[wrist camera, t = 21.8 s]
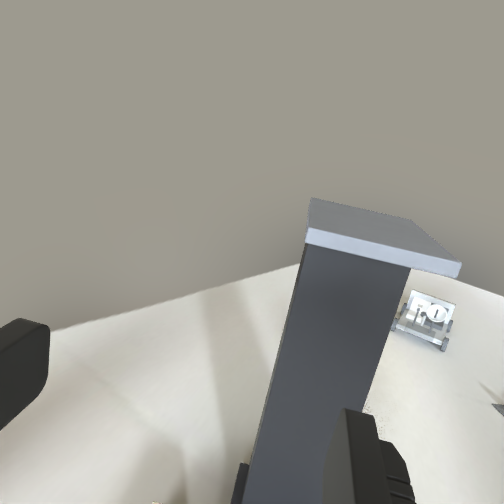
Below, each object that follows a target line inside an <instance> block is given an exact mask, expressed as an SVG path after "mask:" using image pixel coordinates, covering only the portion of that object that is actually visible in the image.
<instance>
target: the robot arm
mask: <svg viewBox="0 0 504 504" xmlns="http://www.w3.org/2000/svg"><path fill="white" fill-rule="evenodd" d="M49 348H50V329H49V327H48V326H47V325H44V324H40V323H37V322H33V321H29V320H26V319H22V318H18V319H16V320H13V321H12V322H10V323H8V324H7V325H5V326H3V327H2V328H0V431H1V430H2V429H3V428H4V427H5V426H6V425H7V424H8V423H9V422H10V421H11V420H13V419H14V418H15V417H16V416H17V415H18V414H19V413H20V412H21V411H22V410H23V409H25V408H26V407H27V406H28V405H29V404H30V403H31V402H32V401H33V400H34V399H35V398H36V397H37V396H38V395H39V394H40V392H41V391H42V389H43V387H44V385H45V383H46V380H47V377H48V365H49ZM322 498H323V504H417V503H415V496H414V492H413V489H412V486H411V485H410V478H409V474H408V471H407V467H406V463H405V461H404V460H403V458H402V457H401V455H400V454H399V452H398V451H397V450H396V448H395V447H394V445H393V444H392V443H390V442H387V441H383V440H379V438H378V433H377V428H376V423H375V419H374V416H373V415H369V414H365V413H362V412H358V411H354V410H351V409H347V408H342V410H341V412H340V415H339V418H338V421H337V424H336V427H335V430H334V433H333V436H332V439H331V442H330V445H329V449H328V452H327V455H326V459H325V463H324V469H323V478H322Z"/></svg>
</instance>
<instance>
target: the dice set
mask: <svg viewBox="0 0 504 504" xmlns="http://www.w3.org/2000/svg"><path fill="white" fill-rule="evenodd" d="M492 405H493V406H494V407H495V408H496V409H497V410H498V411H499V412H500V413H501V414H502V415H503V416H504V405H499V404H492Z"/></svg>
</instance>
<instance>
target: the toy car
mask: <svg viewBox="0 0 504 504" xmlns="http://www.w3.org/2000/svg"><path fill="white" fill-rule="evenodd" d="M455 305H456V304H453V303H450V302H448V301H445V300H442V299H439V298H436V297H433V296H431V295H428V294H425V293H422V292H419V291H416V290H412V293H411V295H410V298H409V301H408V304H406V303H404V305H403V307H402V310H401V314H402V316H401V317H400V319H397V318H395V319H394V321H393V323H392V326H391V329H390V330H391V331H395V329H396V328H398V329H401V330H403V331H405V332H408V333H410V334H413V335H415V336H418V337H420V338H423V339H425V340H428V341H430V342H433V343H436V344H438V345H441V349H440V350H441V351H443V352H444V351H445V349H446V347H447V344H448V341H449V339H448V338H446V337H445V334H446V332H449V331H450V329H451V326H452V323H453V321H452V320H450V318H451V316H452V313H453V310H454V308H455ZM398 320H399V321H398Z"/></svg>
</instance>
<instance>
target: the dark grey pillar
mask: <svg viewBox="0 0 504 504" xmlns="http://www.w3.org/2000/svg"><path fill="white" fill-rule="evenodd" d="M461 265H462V263H461V262H460V261H459V260H457V259H456V258H455V257H454V256H453V255H452V254H451V253H449V252H448V251H447V250H446V249H445V248H443V247H442V246H441V245H440V244H439V243H438V242H436V241H435V240H434V239H433V238H432V237H431V236H429V235H428V234H427V233H426V232H425V231H423V230H422V229H421V228H420V227H419V226H418V225H416V224H415V223H414V222H413V221H411V220H409V219H404V218H400V217H396V216H392V215H387V214H382V213H378V212H374V211H370V210H365V209H361V208H356V207H352V206H348V205H343V204H339V203H334V202H330V201H325V200H321V199H317V198H311V200H310V204H309V210H308V218H307V226H306V234H305V247H304V251H303V255H302V259H301V262H300V266H299V270H298V274H297V278H296V282H295V286H294V290H293V294H292V298H291V302H290V306H289V310H288V314H287V318H286V322H285V326H284V329H283V333H282V337H281V341H280V345H279V349H278V353H277V357H276V361H275V365H274V369H273V373H272V377H271V381H270V385H269V389H268V393H267V396H266V400H265V404H264V408H263V412H262V416H261V420H260V424H259V428H258V432H257V436H256V440H255V444H254V448H253V452H252V456H251V460H250V464H249V465H248V464H244V463H240V467H239V471H238V475H237V479H236V483H235V488H234V492H233V496H232V500H231V504H323V498H322V478H323V469H324V463H325V459H326V455H327V452H328V449H329V445H330V442H331V439H332V436H333V433H334V430H335V427H336V424H337V421H338V418H339V415H340V412H341V410H342V408H347V409H351V410H354V411H358V412H362V410H363V407H364V404H365V401H366V398H367V395H368V392H369V389H370V386H371V383H372V381H373V378H374V375H375V372H376V369H377V366H378V363H379V360H380V357H381V354H382V351H383V348H384V346H385V343H386V340H387V337H388V334H389V331H390V328H391V325H392V322H393V319H394V316H395V314H396V311H397V308H398V305H399V302H400V299H401V296H402V293H403V290H404V287H405V284H406V281H407V279H408V276H409V273H410V270H411V268H413V269H417V270H422V271H426V272H430V273H434V274H438V275H443V276H447V277H451V278H457V276H458V273H459V270H460V268H461Z"/></svg>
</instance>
